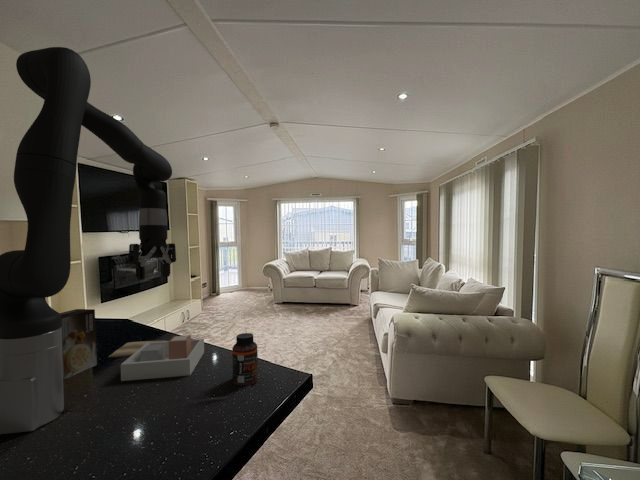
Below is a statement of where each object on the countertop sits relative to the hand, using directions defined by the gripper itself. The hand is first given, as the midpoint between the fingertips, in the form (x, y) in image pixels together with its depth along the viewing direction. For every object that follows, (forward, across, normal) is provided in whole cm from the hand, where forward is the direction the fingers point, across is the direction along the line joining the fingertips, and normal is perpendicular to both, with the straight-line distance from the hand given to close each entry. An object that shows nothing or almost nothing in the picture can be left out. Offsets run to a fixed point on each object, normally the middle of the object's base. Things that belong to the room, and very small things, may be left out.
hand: (154, 278), depth 92 cm
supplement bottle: (+24, -4, -36) cm, 43 cm away
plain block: (+23, -7, -8) cm, 25 cm away
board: (+23, +1, +8) cm, 25 cm away
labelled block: (+23, -3, -14) cm, 27 cm away
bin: (+23, -5, -10) cm, 26 cm away
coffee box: (+24, -16, +10) cm, 31 cm away
